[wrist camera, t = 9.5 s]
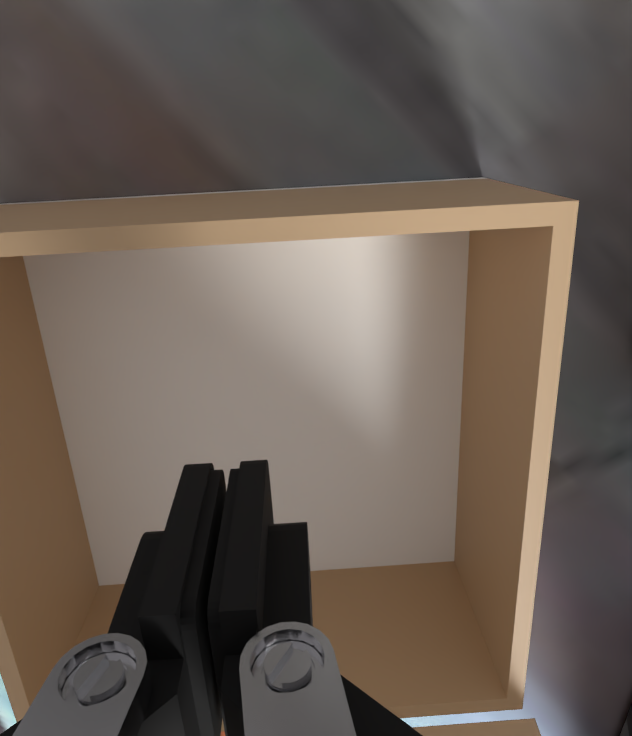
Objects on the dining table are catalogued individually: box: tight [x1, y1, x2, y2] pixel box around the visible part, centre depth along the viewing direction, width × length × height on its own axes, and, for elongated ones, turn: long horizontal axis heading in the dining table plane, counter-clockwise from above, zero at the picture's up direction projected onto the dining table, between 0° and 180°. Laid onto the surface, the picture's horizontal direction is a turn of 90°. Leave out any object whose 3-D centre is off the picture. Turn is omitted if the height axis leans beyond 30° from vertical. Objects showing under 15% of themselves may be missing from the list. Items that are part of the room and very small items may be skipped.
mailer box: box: [0, 177, 579, 732], centre depth 22 cm, size 18×18×8 cm
